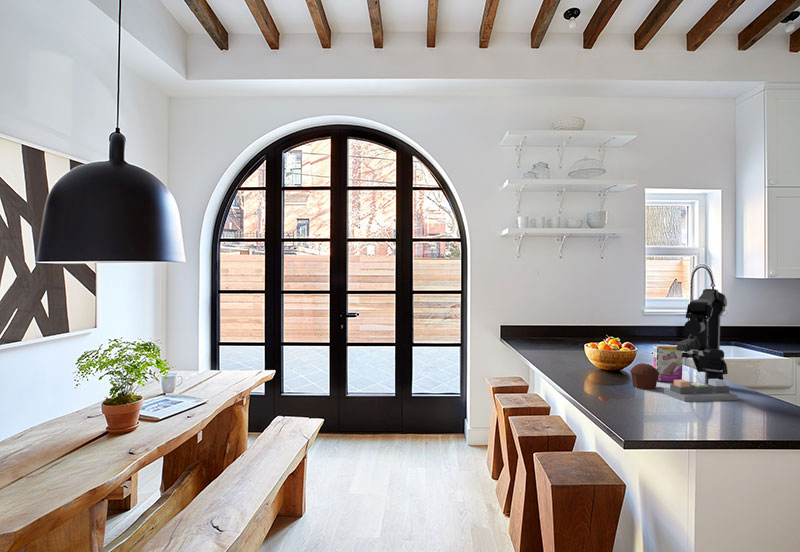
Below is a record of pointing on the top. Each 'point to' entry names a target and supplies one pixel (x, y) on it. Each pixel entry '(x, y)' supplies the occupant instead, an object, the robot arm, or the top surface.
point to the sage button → (699, 384)
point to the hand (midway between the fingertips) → (699, 371)
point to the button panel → (700, 393)
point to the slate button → (716, 382)
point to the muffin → (644, 376)
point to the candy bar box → (667, 362)
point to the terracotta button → (681, 383)
